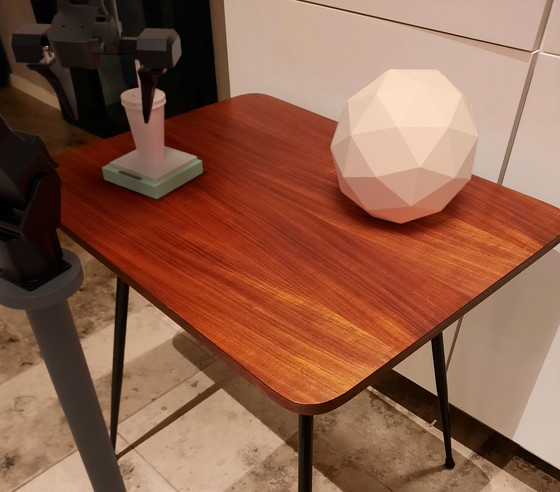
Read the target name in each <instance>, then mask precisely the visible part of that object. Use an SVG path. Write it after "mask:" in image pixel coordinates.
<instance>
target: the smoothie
mask: <svg viewBox="0 0 560 492" xmlns="http://www.w3.org/2000/svg"><path fill="white" fill-rule="evenodd" d="M134 63H135V71H136V76H137V84H138V87H135V88H131V89H128V90H127V89H126V90H125V91H123V92H122V93H121V94H120V100H121V105H122V106H123V107H124V111H125V113H126V118H127V120H128V125H129V129H130V131H131V135H132V138H133V142H134V145H135V150H136V149H137V152H138V156H139V159H140V162H141V163H142V164H144V165H148V166H154V165H159V164H161V163H163V162H164V146H165V104H166V103H167V100H166V94H165V92H164V91H163V90H160V89H158V88H156V90H155V95H154V100H153V105H152V110H151V115H150V120H149V122H148V124H145V123H144V118H143V113H142V98H141V83H140V79H139V76H138V73H137V71H138V69H139V68H140V67H141V63H140V62H139V61H138V59H135V60H134Z"/></svg>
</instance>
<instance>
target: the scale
mask: <svg viewBox="0 0 560 492" xmlns="http://www.w3.org/2000/svg"><path fill="white" fill-rule="evenodd" d="M101 170H102V171H101V172H102V175H103V180H104V181H106V182H108V183H109V182H110V183H112V184H115V185H117V186H120V187H122V188H126V189H128V190H131V191H134V192H136V193H139V194H142V195H144V196H147V197H149V198H152V199H155V200H159V199H160V198H162V197H164V196H166V195H167V194H169V193H170V192H172V191H174V190H175V189H177V188H179V187H180V186H183V185H184V184H186V183H188V182H189V181H191V180H193V179H195V178H196V177H198V176H200V175H202V174H203V173H204V168H203V160H202V159H198V156H197V155H194V154H190V153H188V152H184V151H182V150H178V149H175V148H172V147H169V146H167V145H164V162H163V163H161V164H159V165H154V166H148V165H144V164H142V163H141V162H140V159H139V156H138V152H137V149H136V148H135V150H132V151H130V152H128V153H126V154H124V155H121V156H120V157H118V158H116V159H113V160H112V161H109V163H108V164H106V165H104V166H102V167H101Z"/></svg>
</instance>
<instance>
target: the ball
mask: <svg viewBox="0 0 560 492" xmlns="http://www.w3.org/2000/svg"><path fill="white" fill-rule="evenodd" d="M478 140H479V133H478V129H477V124H476V119H475V114H474V110H473V105H472V101H471V100H469V98H468V97H466V95H464V94H463V93H462V91H461V90H460V89H458V88H457V86H456V85H454V83H452V82H451V80H449V79H448V78H447V77H446V76H445V75H444V74H443V73H442V72H441V71H440V70H439V69H412V68H411V69H407V68H405V69H404V68H389V69H388V70H386V71H385V72H384V73H382V74H381V75H380V76H378V77H377V78H375V79H374V80H373V81H372V82H370V83H369V84H367V85H366V86H364V87H363V88H362V89H361V90H360V91H358V92H357V93H355V94H354V95H352V96H351V97H350V98H349V99H348V100H347V102H346V103H345V106H344V108H343V110H342V112H341V115H340V117H339V119H338V122H337V124H336V128H335V132H334V134H333V136H332V140H331V144H330V152H331V157H332V161H333V164H334V168H335V173H336V178H337V181H338V186H339V189H340V192H341V193H342V194H344V196H346V197H347V198H349V199H350V200H351V201H353V202H354V203H355V204H356V205H357V206H358V207H360V208H361V209H363V210H364V211H365V212H366V213H368V214H369V215H370V216H372V217H373V218H376V219H380V220H384V221H389V222H393V223H397V224H404V223H407V222H410V221H413V220H418V219H420V218H423V217H427V216H429V215H432V214H435V213H440V212H441V211H442V210H444V209H445V207H446V206H447V205H448V204H449V203H450V202H451V200H453V199H454V198H455V197H456V195H457V194H458V193H459V192H460V191H461V190H462V189H463V188H464V187H465V186H466V184H468V183H469V182H470V180H471V179H472V173H473V168H474V164H475V163H474V162H475V157H476V153H477V147H478Z"/></svg>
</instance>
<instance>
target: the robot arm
mask: <svg viewBox="0 0 560 492" xmlns="http://www.w3.org/2000/svg"><path fill="white" fill-rule="evenodd" d="M56 4H57V5H56V6H57V7H56V14H55V15H54V16H53V18H52V21H51V24H50V23H25V24H23V25H22V26H21V27H18V29H17V30H15V31H13V32H12V33H11V34H10V36H9V39H8V46H9V52H10V53H11V57H12V60H13V62H14V63H16V64H25V67H26V68H27V70H28V71H33V72H36V73H37V74H39V75H40V76H41V77H43V78H44V79H45V80H46V81H47V82H48V84H49V85H50V87H51V88H52V89H53V90H54V91H53V92H55V94H56V95H57V97H58V98H59V100H60V102H61V104H62V105H63V107H64V108H65V111H67V114H68V115H69V117H70V119H71V120H72V121H73V122H74V121H75V122H76V121H78V119H79V113H78V112H79V110H78V102H77V98H76V94H75V88H74V84H73V79H72V76H71V71H70V68H84V69H86V70H96V69H98V68H100V67H101V66H102V63H103V57H104V56H125V57H126V56H128V57H136V58H137V60H138V61H139V64H140V68H139V69H138V71H136V74H137V73H138V76H139V79H140V83H141V98H142V113H143V118H144V123H145V124H148V122H149V120H150V115H151V110H152V105H153V100H154V95H155V90H156V89H157V86H158V82H159V80H160V76H163V75H165V73H166V72H167V71H168V69H172V68H175V66H176V65H177V63H178V61H179V60H180V58H181V56H182V47H181V46H182V45H181V38H180V35H179V34H178V33H177V31H176V30H175V29H174V28H154V27H153V28H152V27H147V28H146V27H145V28H144V29H143V31H142V32H141V33H140V34H139V35H138V36H136V37H135V36H122V35H121V33H122V32H123V26H122V21H120V20H119V16H118V10H117V3H116V0H56ZM58 168H60V164H59V163H58V162H56V161H55V160H54V159H53V158H52V156H51V154H50V153H49V150H48V148H47V145H46V144H45V142H44V140H43V139H42V138H41V137H40V136H39V135H37V134H33V133H29V132H26V131H22V130H18V129H14V128H11V127H10V126H9V125H8V123H7V122H6V121H5V118H4V117H3V116H2V114H1V113H0V277H1V278H3V279H5V280H7V281H9V282H11V283H13V284H14V285H16V286H18V287H20V288H22V289H24V290H26V291H28V292H31V291H34V290H36V289H37V288H39V287H41V286H42V285H44V284H46V283H47V282H49V281H50V280H52V279H54V278H55V277H57V276H59V275H60V274H62V273H64V272H65V271H67V270H69V269H70V268H71V267H72V266H71V263H70V262H68V261H65V260H63V259H62V258H63V252H62V248H63V247H62V245H61V242H60V238H59V234H58V232H57V229H59V228H61V226H62V186H63V183H62V179H61V178H62V177H60V173H59V171H58V170H57V169H58Z"/></svg>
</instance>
